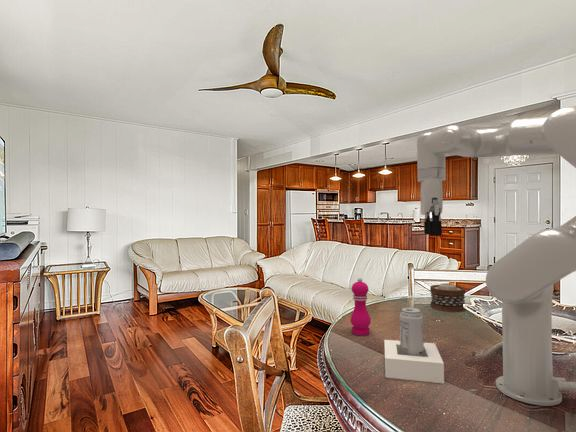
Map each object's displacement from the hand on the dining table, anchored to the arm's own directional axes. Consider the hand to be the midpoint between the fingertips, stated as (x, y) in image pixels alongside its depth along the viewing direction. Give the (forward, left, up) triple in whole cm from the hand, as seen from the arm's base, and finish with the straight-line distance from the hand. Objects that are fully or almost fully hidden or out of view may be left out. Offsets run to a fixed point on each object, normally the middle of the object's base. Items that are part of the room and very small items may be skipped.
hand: (432, 235), depth 98 cm
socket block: (+7, +7, -36) cm, 38 cm away
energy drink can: (+7, +7, -35) cm, 37 cm away
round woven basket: (-15, -63, -37) cm, 74 cm away
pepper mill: (+22, -20, -36) cm, 47 cm away
